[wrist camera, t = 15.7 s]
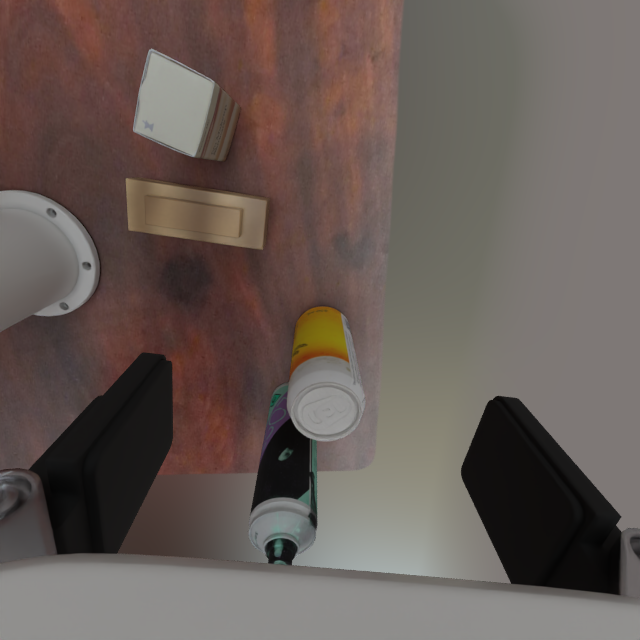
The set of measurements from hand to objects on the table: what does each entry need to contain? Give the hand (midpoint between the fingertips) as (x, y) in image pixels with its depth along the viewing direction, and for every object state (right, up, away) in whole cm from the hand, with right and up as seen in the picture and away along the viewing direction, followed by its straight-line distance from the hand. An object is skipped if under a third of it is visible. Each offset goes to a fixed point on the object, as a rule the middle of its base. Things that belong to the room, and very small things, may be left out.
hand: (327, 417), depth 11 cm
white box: (-10, +21, +22) cm, 32 cm away
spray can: (-3, -7, +34) cm, 35 cm away
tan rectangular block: (-11, +14, +25) cm, 30 cm away
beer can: (0, +2, +30) cm, 30 cm away
